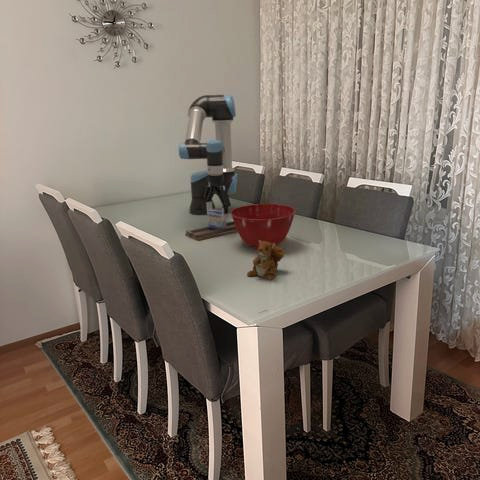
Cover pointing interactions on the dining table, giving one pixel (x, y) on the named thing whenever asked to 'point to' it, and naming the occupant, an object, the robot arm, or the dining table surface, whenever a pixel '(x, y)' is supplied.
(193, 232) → the tray
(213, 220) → the medicine box
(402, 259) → the dining table surface
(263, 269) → the stuffed squirrel
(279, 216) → the mixing bowl
